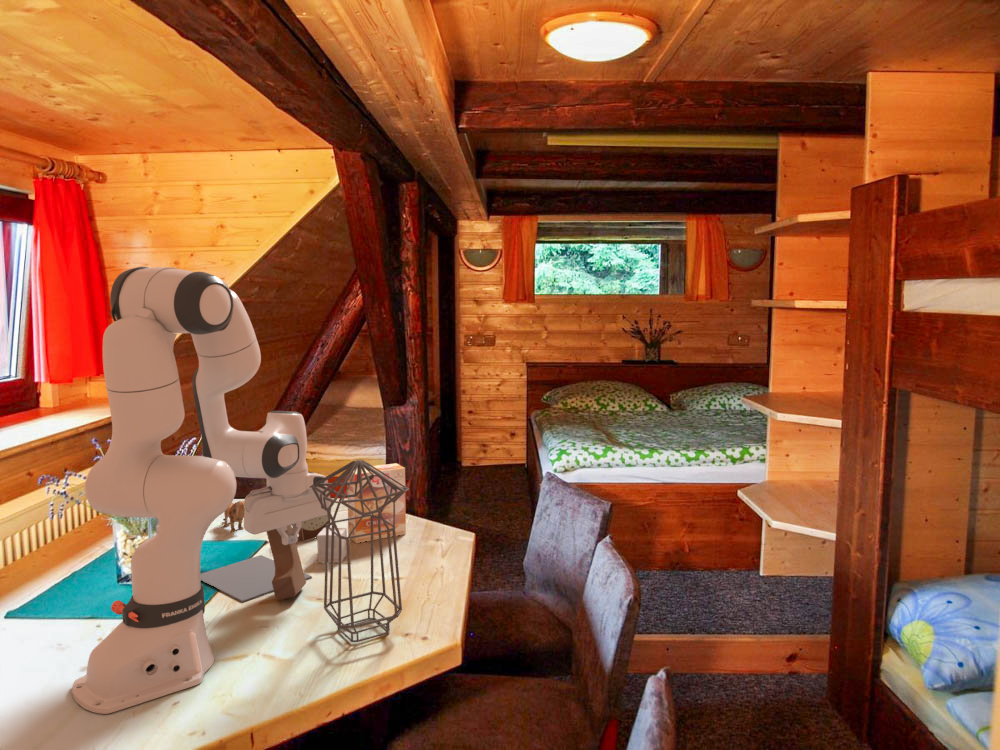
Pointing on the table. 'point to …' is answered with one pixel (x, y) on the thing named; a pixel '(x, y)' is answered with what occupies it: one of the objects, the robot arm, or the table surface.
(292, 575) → the wooden block
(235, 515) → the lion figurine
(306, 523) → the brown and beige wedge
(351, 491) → the coffeecake box
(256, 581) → the mat
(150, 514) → the robot arm
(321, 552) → the product box
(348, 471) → the geometric lantern
